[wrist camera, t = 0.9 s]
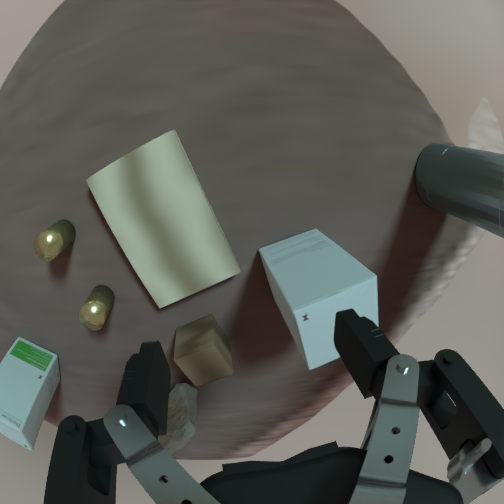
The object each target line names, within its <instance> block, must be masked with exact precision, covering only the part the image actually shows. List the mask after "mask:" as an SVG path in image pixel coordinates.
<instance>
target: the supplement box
mask: <svg viewBox="0 0 504 504" xmlns="http://www.w3.org/2000/svg"><path fill="white" fill-rule="evenodd" d="M259 253H260V256H261V259H262V263H263V266H264V269H265V273H266V276H267V279H268V282H269V285H270V288H271V291H272V294H273V297H274V300H275V302H276V304H277V306H278V308H279V310H280V312H281V314H282V316H283V318H284V320H285V322H286V324H287V326H288V328H289V330H290V332H291V334H292V337H293V339H294V341H295V343H296V345H297V347H298V349H299V351H300V353H301V355H302V357H303V359H304V361H305V363H306V365H307V367H308V368H309V370H312V369H314V368H317V367H319V366H321V365H324V364H326V363H328V362H330V361H333V360H335V359H337V358H340V355H339V354H338V352H337V350H336V348H335V345H334V327H335V315H336V313H337V312H338V311H343V310H347V309H351V308H352V309H354V310H355V312H356V313H357V314H358V315H359V316H360V317H363V316H365V317H366V318H368V319H370V320H372V321H373V322H374V323H375V324H376V325H377V327H378V290H377V275H375V274H374V273H373V272H371V271H370V270H369V269H367V268H366V267H365V266H364V265H362V264H361V263H360V262H359V261H357V260H356V259H355V258H354V257H352V256H351V255H350V254H348V253H347V252H346V251H345V250H343V249H342V248H341V247H340V246H338V245H337V244H336V243H334V242H333V241H332V240H330V239H329V238H328V237H326V236H325V235H324V234H322V233H321V232H319V231H318V230H317V229H313V230H310V231H307V232H304V233H302V234H299V235H296V236H293V237H291V238H288V239H285V240H282V241H279V242H277V243H274V244H271V245H268V246H266V247H263V248H260V249H259Z"/></svg>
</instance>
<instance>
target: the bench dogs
mask: <svg viewBox="0 0 504 504" xmlns="http://www.w3.org/2000/svg"><path fill="white" fill-rule="evenodd" d="M75 235H76V232H75V228H74V226H73V224H72V223H71V222H70V221H68V220H60V221H58V222H57V223H55V224H54V225H52V226H50V227H49V228H47V229H46V230H44V231H43V232H41V233H40V234H38V235H37V236H36V238H35V240H34V249H35V252H36V254H37V256H38V257H39V258H40V259H41V260H43V261H46V262H49V261H52V260H53V259H54V258H55V257H56V256H57V255H58V254H60V253H61V252H62V251H63V250H64V249H65V248H66V247H68V246H69V245H70V244H71V243H72V242H73V241H74V239H75ZM114 300H115V296H114V293H113V291H112V290H111V289H110V288H109V287H107V286H104V285H98V286H96V287H95V288H94V289H93V291H92V292H91V294H90V296H89V297H88V299H87V300H86V302H85V304H84V305H83V307H82V308H81V310H80V312H79V319H80V321H81V323H82V324H83V325H84V326H85V327H86V328H88V329H90V330H99V329H101V328H102V326H103V324H104V322H105V320H106V318H107V316H108V313H109V311H110V309H111V307H112V305H113V303H114Z"/></svg>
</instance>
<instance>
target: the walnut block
mask: <svg viewBox="0 0 504 504" xmlns="http://www.w3.org/2000/svg"><path fill="white" fill-rule="evenodd" d="M174 361H175V363H176V364H177V365H178V366H179V367H180V369H181V370H182V371H183V372H184V373H185V375H186V376H187V377H188V378H189V379H190V380H191V381H192V383H193V384H194V385H195V386H196V387H197V386H200V385H203V384H206V383H209V382H212V381H215V380H218V379H220V378H223V377H226V376H229V375H231V374H234V369H233V363H232V357H231V351H230V345H229V341H228V339H227V338H226V336H225V334H224V333H223V331H222V330H221V328H220V326H219V325H218V323H217V322H216V320H215V318H214V317H213V315H212V314H210V315H208V316H205V317H203V318H201V319H198V320H196V321H193V322H191V323H188V324H186V325H183V326H181V327H178V328H176V338H175V350H174Z"/></svg>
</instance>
